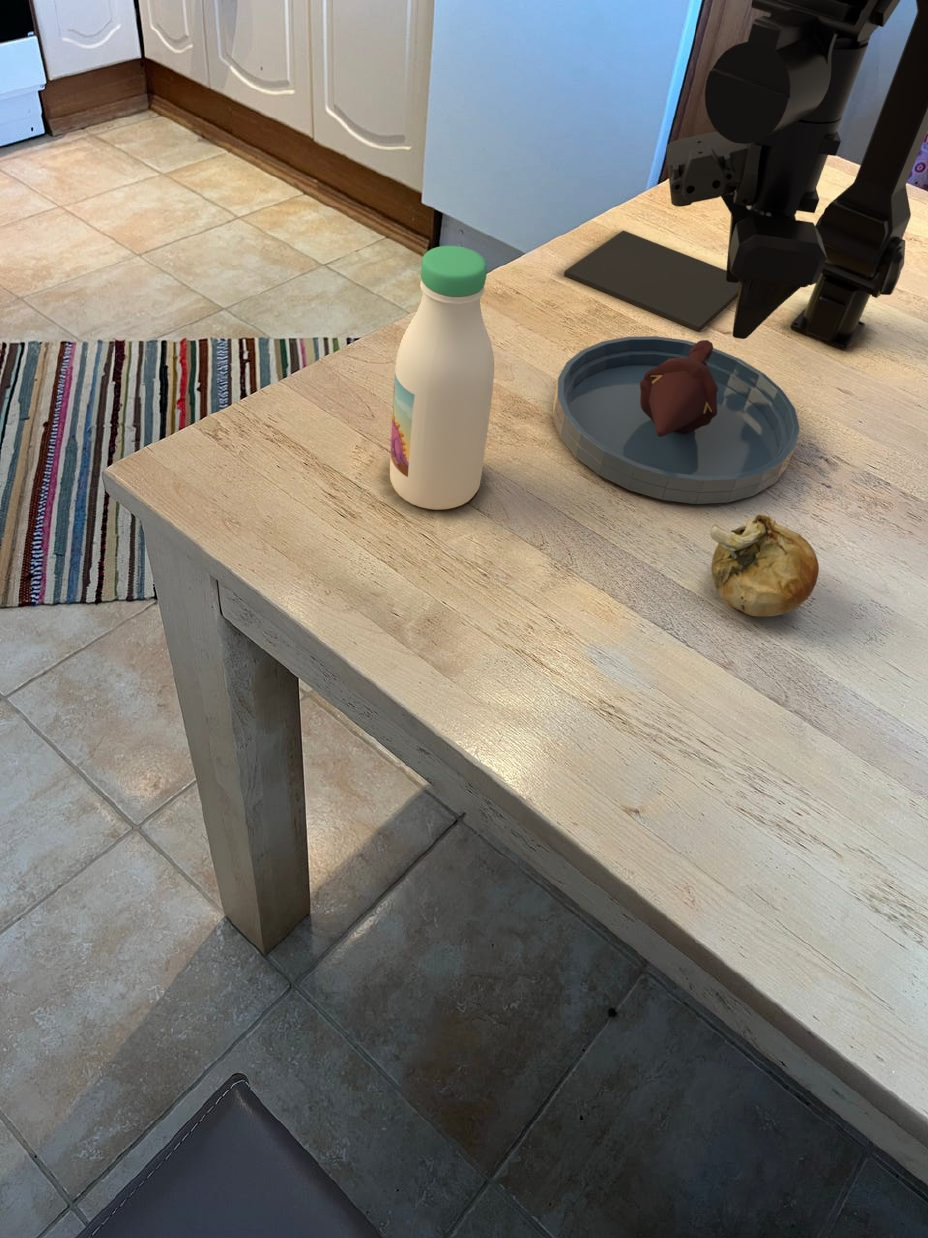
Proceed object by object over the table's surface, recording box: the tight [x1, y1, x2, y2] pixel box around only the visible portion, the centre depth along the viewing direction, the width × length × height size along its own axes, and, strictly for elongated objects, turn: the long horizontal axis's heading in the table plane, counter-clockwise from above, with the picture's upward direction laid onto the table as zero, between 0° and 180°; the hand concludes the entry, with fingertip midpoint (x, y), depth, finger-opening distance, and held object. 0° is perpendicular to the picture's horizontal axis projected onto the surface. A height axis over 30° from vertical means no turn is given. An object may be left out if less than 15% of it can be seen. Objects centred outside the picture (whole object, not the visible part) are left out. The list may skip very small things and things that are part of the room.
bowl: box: [552, 335, 801, 505], centre depth 88 cm, size 22×22×3 cm
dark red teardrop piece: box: [640, 339, 718, 437], centre depth 86 cm, size 7×7×15 cm
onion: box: [709, 513, 820, 617], centre depth 72 cm, size 8×8×8 cm
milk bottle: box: [389, 245, 495, 511], centre depth 73 cm, size 8×8×20 cm
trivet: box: [563, 230, 740, 332], centre depth 108 cm, size 14×17×1 cm
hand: (735, 308), depth 79 cm, fingers open, 9 cm apart
